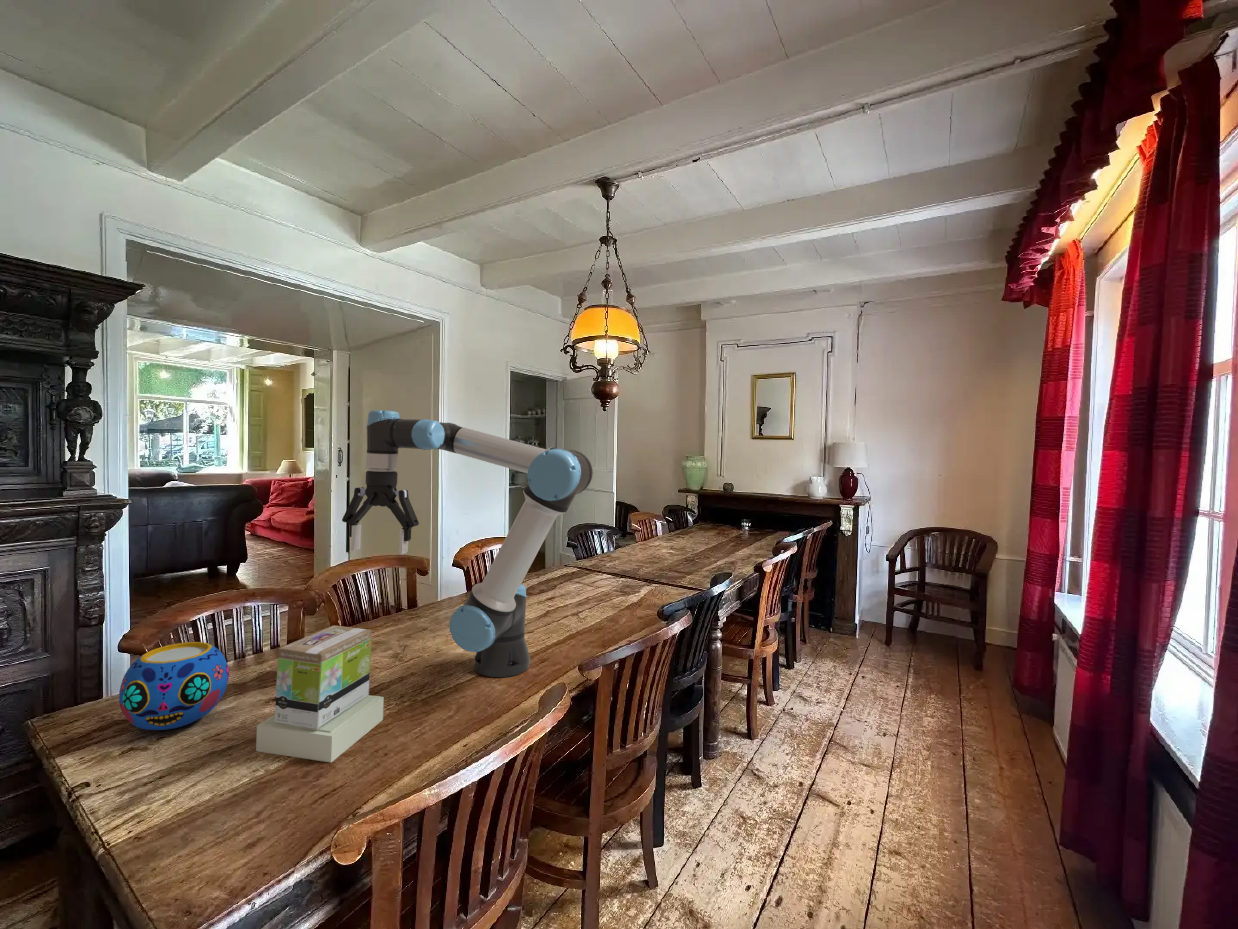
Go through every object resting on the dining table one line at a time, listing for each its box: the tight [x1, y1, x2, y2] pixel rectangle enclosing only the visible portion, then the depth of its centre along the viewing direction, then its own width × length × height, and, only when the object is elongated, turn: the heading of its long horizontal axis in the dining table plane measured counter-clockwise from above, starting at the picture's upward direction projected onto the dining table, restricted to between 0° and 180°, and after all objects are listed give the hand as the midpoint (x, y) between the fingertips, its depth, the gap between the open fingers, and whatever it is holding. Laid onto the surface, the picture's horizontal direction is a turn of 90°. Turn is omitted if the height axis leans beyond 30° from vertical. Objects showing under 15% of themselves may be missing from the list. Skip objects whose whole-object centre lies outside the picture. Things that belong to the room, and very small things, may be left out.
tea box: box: [274, 625, 373, 730], centre depth 106 cm, size 15×10×15 cm, turn 169°
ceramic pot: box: [118, 641, 230, 731], centre depth 108 cm, size 18×18×15 cm
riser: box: [255, 694, 385, 763], centre depth 106 cm, size 16×16×5 cm
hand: (379, 551), depth 136 cm, fingers open, 13 cm apart
